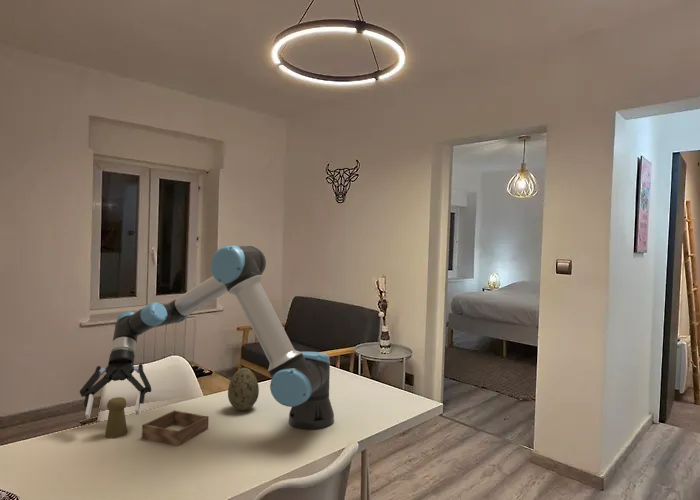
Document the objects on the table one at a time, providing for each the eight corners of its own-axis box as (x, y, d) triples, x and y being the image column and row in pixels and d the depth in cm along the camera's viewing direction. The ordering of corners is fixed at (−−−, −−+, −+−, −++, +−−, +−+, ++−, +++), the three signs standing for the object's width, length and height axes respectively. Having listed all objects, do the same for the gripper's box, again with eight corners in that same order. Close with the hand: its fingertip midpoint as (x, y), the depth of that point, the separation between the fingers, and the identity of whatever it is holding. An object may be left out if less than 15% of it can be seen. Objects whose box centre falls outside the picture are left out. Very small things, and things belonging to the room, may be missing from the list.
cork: (131, 432, 142) (132, 397, 142) (114, 439, 136) (114, 403, 136) (118, 428, 144) (118, 394, 144) (100, 435, 139) (101, 399, 139)
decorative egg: (247, 416, 157) (248, 373, 157) (221, 412, 160) (222, 369, 160) (264, 406, 167) (264, 365, 167) (239, 403, 170) (239, 362, 170)
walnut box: (208, 428, 146) (208, 416, 146) (178, 445, 133) (178, 432, 133) (174, 422, 150) (174, 410, 150) (142, 438, 138) (142, 425, 138)
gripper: (163, 358, 159) (157, 416, 145) (82, 362, 152) (68, 423, 138) (161, 346, 154) (155, 405, 140) (78, 349, 147) (63, 412, 133)
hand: (112, 414), depth 139 cm, fingers open, 13 cm apart
